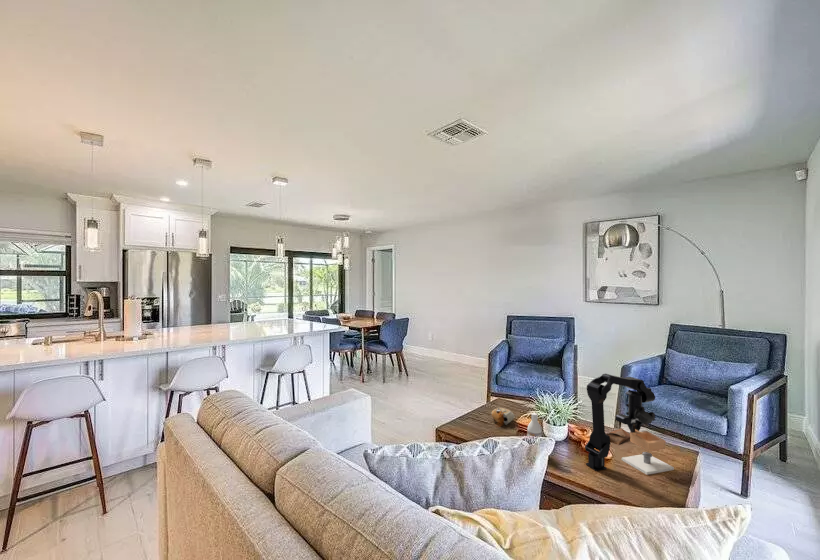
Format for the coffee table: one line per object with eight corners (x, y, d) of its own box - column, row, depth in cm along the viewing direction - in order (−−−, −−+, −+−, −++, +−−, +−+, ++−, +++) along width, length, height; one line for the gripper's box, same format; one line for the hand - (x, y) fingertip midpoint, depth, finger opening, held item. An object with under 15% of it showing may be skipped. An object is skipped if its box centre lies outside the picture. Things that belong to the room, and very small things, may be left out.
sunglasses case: (619, 445, 199) (612, 432, 202) (607, 447, 204) (601, 435, 207) (635, 437, 209) (629, 425, 212) (624, 439, 214) (618, 427, 217)
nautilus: (505, 432, 216) (482, 427, 225) (518, 419, 233) (496, 414, 242) (504, 419, 216) (481, 414, 225) (518, 406, 233) (495, 402, 242)
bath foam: (524, 451, 192) (524, 412, 192) (534, 448, 195) (534, 410, 195) (533, 457, 186) (534, 417, 186) (544, 454, 189) (544, 415, 188)
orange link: (648, 451, 172) (648, 443, 172) (623, 436, 186) (623, 429, 186) (664, 449, 175) (665, 440, 175) (639, 434, 189) (639, 427, 188)
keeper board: (646, 474, 170) (646, 463, 170) (621, 460, 183) (621, 449, 183) (673, 469, 174) (673, 458, 174) (647, 455, 188) (647, 445, 188)
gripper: (634, 411, 175) (633, 444, 175) (664, 407, 180) (664, 439, 180) (614, 403, 186) (614, 434, 186) (644, 399, 191) (644, 430, 191)
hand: (634, 434), depth 185 cm, fingers closed on orange link, 2 cm apart
